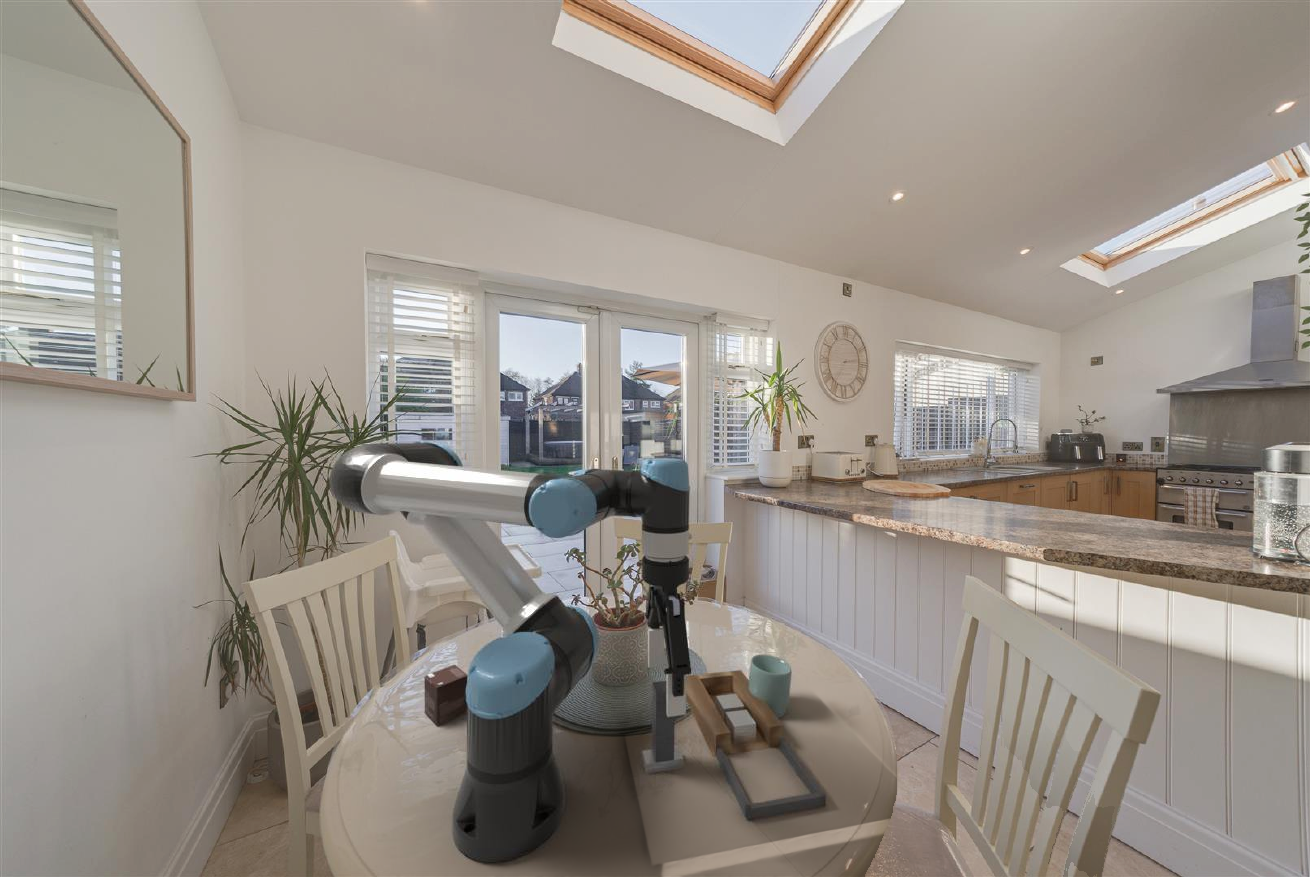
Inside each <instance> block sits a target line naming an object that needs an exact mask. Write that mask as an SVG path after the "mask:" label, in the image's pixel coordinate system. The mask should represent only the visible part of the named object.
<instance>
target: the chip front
mask: <svg viewBox="0 0 1310 877" xmlns="http://www.w3.org/2000/svg"><path fill="white" fill-rule="evenodd" d="M726 726H727V728H728V729H729V731H730V738H731V740H732V741H733V743H734V744H738V743H745V742H752V741H756V723H755V721H754V720H753V718H752V717H751V716H750V714H749V713H748V711H747V710H740V711H732V712H726Z"/></svg>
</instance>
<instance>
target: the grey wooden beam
mask: <svg viewBox="0 0 1310 877" xmlns="http://www.w3.org/2000/svg"><path fill="white" fill-rule="evenodd" d="M666 687H667V680H663V681H653V682H652V688H651V691H652V692H651V697H652V698H651V749H645V750H642V759H641V760H642V763H643V768H644V771H645V774H646V775H648V774H654V773H659V772H666V771H673V770H680V769H684V756H683V754H682V752H681V749H680V747H679V745H675V725H676V724H675V723H676V722H675V721H676V720H675V718H676V716H671V717H667V714H666Z"/></svg>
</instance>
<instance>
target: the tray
mask: <svg viewBox="0 0 1310 877" xmlns="http://www.w3.org/2000/svg"><path fill="white" fill-rule="evenodd" d="M779 750H780V751H781V753H782V754H783V756H784V757H785V758H786V760H787V761H788V763H789V764H790V766H791V767H792V768H793V770H794V772H795V773H796V775H797V776H798V777H799V778H800V780H801V782H802V783H803V784H804V786H805V787H806V789H807V790H808V791H809V792H808V793H805V794H800V795H795V796H794V795H793V796H788V797H783V798H782V797H781V798H776V799H771V800H766V801H760V802H755V803H750V801H749V799H748V797H747V795H746V793H745V791H744V789H743V787H742V785H741V783H740V781H739V780H738V778H737V776H736V774H735V771H734V769H733V768H732V766H731V764H730V762H729V760H728V758H727V756H726V755H725V754H724V752H723V750H722V748H719V749H717V756H716V759H717V761H718V763H719V766H720V767H721V770H722V772H723V774H724V776H725V778H726V780H727V782H728V784H729V786H730V788H731V790H732V793H733V795H734V796H735V799H736V801H737V802H738V805H739V807H740V809H741V811H742V813H743V816H744V817H745V820H746V821H747V822H748V821H754V820H755V821H756V820H759V819H765V818H769V817H775V816H776V817H777V816H780V815H787V814H791V813H792V814H793V813H798V812H803V811H809V810H814V809H820V808H824V807H826V806H827V805H826V801H827V798H826V797H827V796H826V794H825V793H824V791H823V790H822V789H821V787H820V785H818V783H817V781H816V780H815V779H814V777H813V776H812V775H811V773H810V772H809V770H808V769H807V768H806V767H805V765H804V764H803V763H802V761H801V760H800V759H799V757H798V756H797V754H796V753H795V752H794V750H793V749H792V747H791V746H790V744H788V741H786V739H785V738H783V739H781V740H780V747H779Z"/></svg>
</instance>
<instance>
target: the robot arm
mask: <svg viewBox="0 0 1310 877" xmlns="http://www.w3.org/2000/svg"><path fill="white" fill-rule="evenodd" d="M332 466H333V467H332V469H331V471H330V475H329V488H330V491H331V494H332V496H333V498H334V499H335V500H336V501H337V503H338V504H340V505H341V506H343V507H344V508H345V509H347V510H350V511H352V512H356V513H362V514H370V515H378V516H389V515H390V516H391V515H393V514H395V513H398V511H399V512H400V513H401V515H402V516H403V517H404V519H405V520H406V521H407V523H408V524H410V525H413V526H415V525H416V526H423V527H424V529H425V530H426V531H427V533H429V535H430V536H431V538H432V539H433V540H434V541H435V543H436V544H437V545H438V547H439V549H441V550H442V552H443V553H444V554H445V556H446V557H447V558H448V560H449V562H451V564H453V566H454V567H455V569H456V570H457V571H458V573H459V574H460V575H461V576H462V577H463V579H464V581H466V583H467V584H468V586H469V587H470V588H471V589H472V590H473V592H474V593H475V595H476V596H477V597H478V598H479V600H480V601H481V603H483V605H484V606H485V607H486V609H487V610H488V611H489V613H490V614H491V615H492V616H493V617H494V619H495V620H496V622H498V625H500V626H501V628H502V637H500V636H499V637H498V638H495V639H493V640H492V641H490V642H488V643H487V644H485V645H484V646H483V647H481V648H480V650H479V651H477V652H476V654H475V655H474V656H473V659H472V661H471V662H470V663H469V664H470V665H469V667H468V671H467V675H468V679H467V681H468V682H467V686H466V701H467V712H466V769H465V771H464V775H463V778H462V781H461V784H460V787H459V790H458V792H457V796H456V799H455V802H454V805H453V812H452V838H453V840H454V843H455V845H456V847H457V849H458V850H459V851H460V852H461V853H462V854H464V855H465V856H466V855H467V857H468V858H471V859H472V860H475V861H478V862H484V861H485V862H484V863H499V862H506V861H510V860H513V859H517V858H520V857H523V856H525V855H526V854H528V853H530V852H532V851H534V850H536V848H537V847H539V846H541V845H542V844H543V843H544V842H545V841H546V840H548V838H549V837H550V836H551V835H552V834H553V833H554V831H555V830H556V829H557V827H558V825H559V824H560V822H561V820H562V817H563V814H564V810H565V785H564V784H565V783H564V779H563V777H562V773H561V771H560V768H559V765H558V762H557V759H556V756H555V753H554V751H553V750H554V749H553V746H554V744H553V740H554V738H553V736H554V735H553V734H554V728H553V727H554V715H555V712H556V711H557V709H558V708H559V707H560V706H561V704H562V703H563V702H564V701H565V699H566V698H567V697H568V696H569V695H570V694H571V692H572V691H573V689H574V688H575V687H576V686H577V684H579V682H580V681H581V680H582V679H583V678H584V677H585V676H586V675H588V672H590V669H591V667H592V665H593V664H594V662H595V660H596V659H597V656H598V652H599V647H600V635H599V631H598V627H597V625H596V623H595V621H594V619H593V617H591V615H590V614H589V613H588V612H587V611H585V610H584V609H583V608H581V607H579V606H576V607H575V606H573V605H565V603H564V602H563V601H562V599H561V598H560V597H559V596H558V595H557V594H555V593H545V592H543V590H542V589H541V588H540V587H539V586H538V584H537V583H536V582H535V581H534V580H533V578H532V577H531V576H530V574H528V572H527V571H526V570H525V569H524V567H523V566H522V565H521V563H520V562H519V561H518V560H517V559H516V558H515V557H516V556H514V555H513V554H512V553H511V551H510V550H509V549H508V548H507V547H506V545H505V543H503V542H502V540H501V539H500V538H499V537H498V535H497V534H496V532H494V530H493V529H492V528H491V526H489V524H488V523H487V522H489V523H496V524H497V523H498V524H506V525H515V526H523V527H530V528H535V529H536V530H537V531H539V532H540V533H541V534H543V535H544V536H545V537H548V538H551V539H552V538H553V539H561V538H562V539H563V538H567V537H572V536H575V535H578V534H580V533H581V532H583V531H584V530H586V529H588V528H589V527H591V526H594V525H595V524H597V523H599V522H601V521H603V520H605V519H608V518H611V517H630V518H641V522H642V523H641V554H642V555H643V557H642V558H641V579H642V581H643V582H645V584H648V593H647V599H646V600H647V601H646V602H647V603H646V609H645V615H644V616H645V619H646V620H647V622H646V623H647V627H648V630H647V633H648V634H647V635H648V636H647V637H648V638H647V639H648V640H647V643H648V644H647V646H648V647H647V650H648V652H647V656H648V657H647V667H648V668H649V669H652V668H653V669H654V668H663V667H665V651H666V659H667V666H668V667H667V668H665V669H664V670H663V672H664V675H666V681H667V687H666V714H667V717H671V716H675V717H677V716H683V715H685V716H686V715H687V710H686V709H687V701H686V676H688V675H691V674H692V667H691V661H690V660H691V657H690V650H689V643H688V642H689V641H688V635H687V634H688V631H687V623H686V608H685V606H686V603H685V602H686V601H685V600H684V599H683V598H681V594H680V593H678V587H680V586H681V585H684V584H686V583H687V582H688V581H689V579H690V558H689V557H688V556H687V555H688V554H689V553H690V551H689V550H690V547H689V546H690V543H689V540H692V538H693V535H692V533H690V493H691V492H690V491H691V486H690V479H689V478H690V477H689V476H690V475H689V465H688V463H687V462H686V460H684V459H682V458H672V457H669V458H668V457H666V458H665V457H663V458H661V457H660V458H659V457H657V458H654V457H653V458H651V457H650V458H646V459H644V460H642V464H641V467H640V469H638V470H637V469H636V470H619V469H617V470H616V469H600V468H589V469H579V470H576V471H575V472H574V473H573V475H571V476H570V475H558V474H545V473H544V474H543V473H535V472H524V471H513V470H512V471H511V470H505V469H504V470H502V469H493V468H492V469H490V468H479V467H471V466H463V462H462V460H461V459H460V457H459V455H458V454H457V452H455V451H454V450H453V449H452V448H450V447H448V446H447V445H445V444H442V443H439V442H431V441H415V442H408V443H407V442H405V443H403V442H402V443H399V442H398V443H393V442H391V443H388V442H387V443H366V444H362V445H357V446H355V447H354V448H351V449H350V450H347V451H346V452H344V453H343V454H342V455H341V456H339V458H338V459H337V460H336V461H335V462H334V464H333V465H332Z"/></svg>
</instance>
